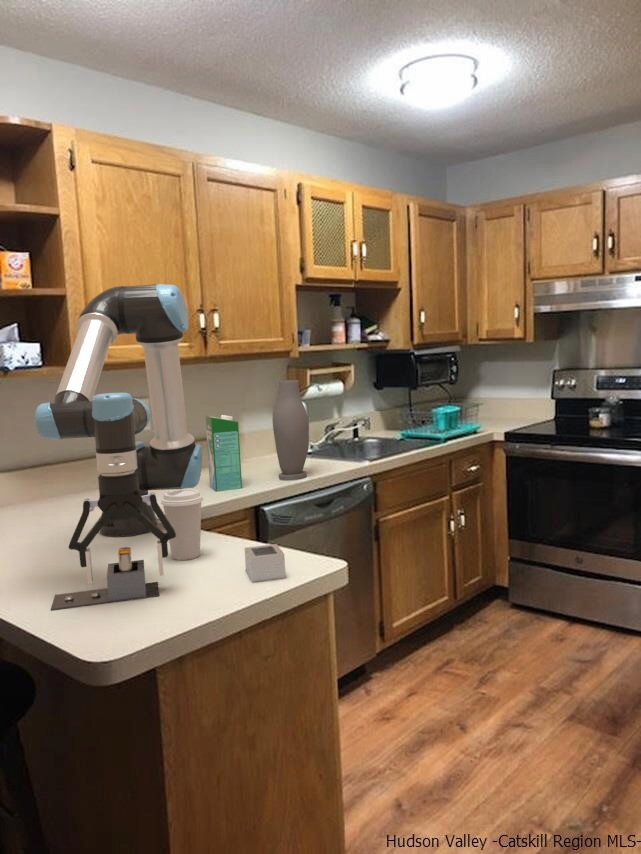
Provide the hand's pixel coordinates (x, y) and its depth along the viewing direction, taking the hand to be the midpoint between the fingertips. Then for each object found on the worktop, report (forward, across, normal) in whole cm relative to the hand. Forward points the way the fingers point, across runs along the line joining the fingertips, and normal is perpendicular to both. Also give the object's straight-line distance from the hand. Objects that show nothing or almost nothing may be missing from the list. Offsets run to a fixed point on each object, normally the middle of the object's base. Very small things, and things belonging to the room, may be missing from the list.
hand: (126, 577), depth 139 cm
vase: (+3, +57, +103) cm, 118 cm away
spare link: (+3, +28, +1) cm, 28 cm away
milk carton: (+3, +32, +96) cm, 101 cm away
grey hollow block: (+3, 0, 0) cm, 3 cm away
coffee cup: (+3, +13, +21) cm, 25 cm away
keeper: (+3, -4, 0) cm, 5 cm away
